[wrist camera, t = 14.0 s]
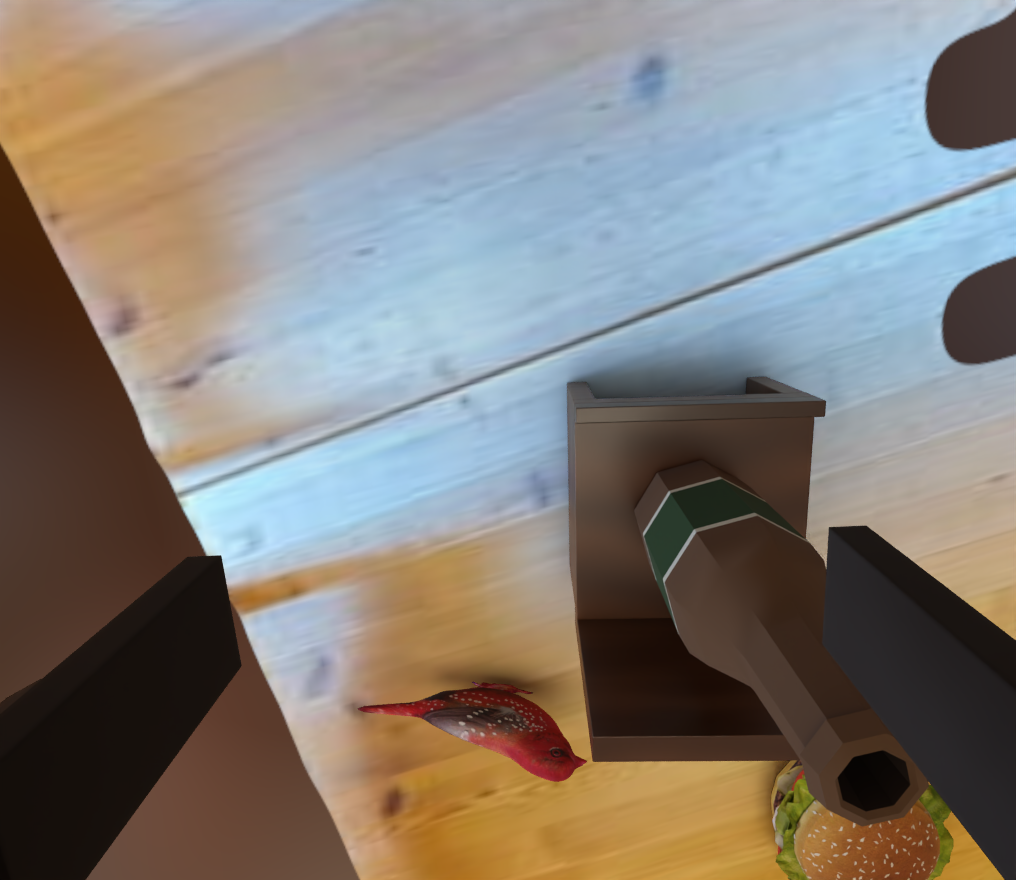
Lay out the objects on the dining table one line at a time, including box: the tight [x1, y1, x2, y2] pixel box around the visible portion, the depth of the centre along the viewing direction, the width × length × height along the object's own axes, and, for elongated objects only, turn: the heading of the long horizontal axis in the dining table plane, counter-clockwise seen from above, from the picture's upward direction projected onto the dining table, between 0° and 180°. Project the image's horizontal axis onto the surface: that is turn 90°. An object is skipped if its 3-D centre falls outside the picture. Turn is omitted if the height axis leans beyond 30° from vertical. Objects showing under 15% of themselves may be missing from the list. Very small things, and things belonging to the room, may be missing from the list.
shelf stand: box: [567, 377, 826, 762], centre depth 42 cm, size 16×15×21 cm
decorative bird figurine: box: [358, 682, 587, 782], centre depth 52 cm, size 3×18×10 cm, turn 81°
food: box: [771, 760, 953, 880], centre depth 54 cm, size 14×14×8 cm
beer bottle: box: [634, 460, 929, 827], centre depth 32 cm, size 8×8×24 cm
